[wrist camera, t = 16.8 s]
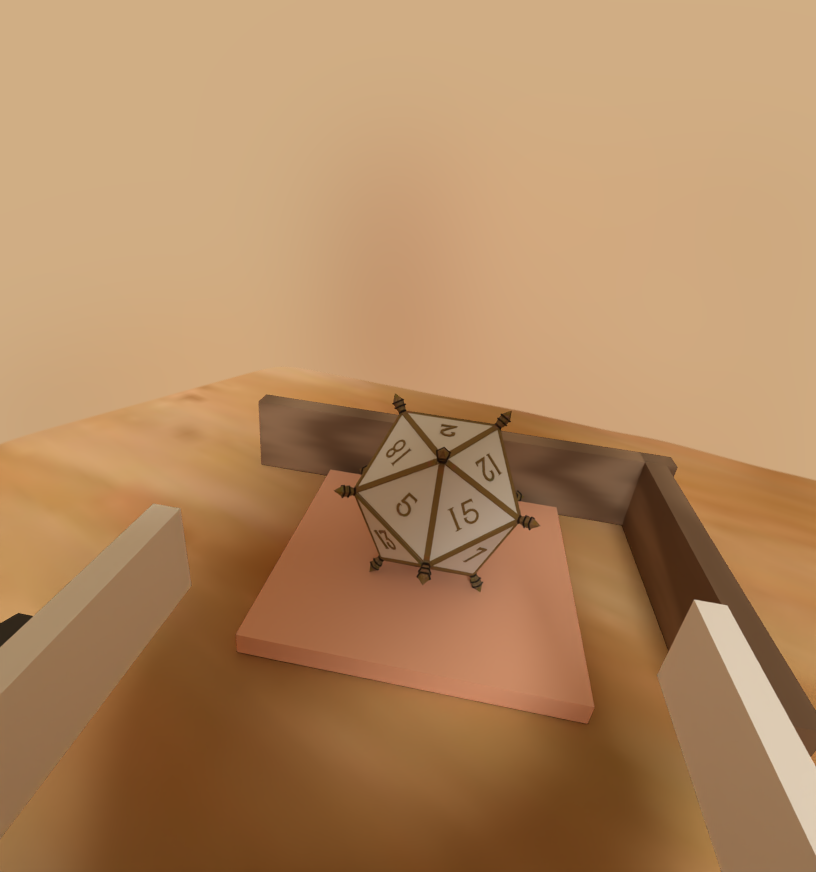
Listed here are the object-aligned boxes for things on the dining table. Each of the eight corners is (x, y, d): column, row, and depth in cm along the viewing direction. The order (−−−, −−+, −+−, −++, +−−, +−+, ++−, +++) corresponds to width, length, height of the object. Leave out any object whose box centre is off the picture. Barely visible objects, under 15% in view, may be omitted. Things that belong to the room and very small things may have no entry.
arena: (646, 518, 32) (670, 457, 30) (783, 819, 17) (851, 737, 15) (268, 455, 34) (266, 394, 32) (90, 670, 19) (64, 581, 17)
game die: (383, 604, 27) (308, 433, 26) (520, 535, 28) (451, 372, 28) (417, 681, 18) (304, 426, 18) (612, 576, 20) (514, 337, 19)
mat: (552, 520, 31) (556, 507, 30) (587, 723, 19) (594, 707, 19) (330, 482, 32) (330, 469, 31) (236, 651, 20) (235, 634, 20)
